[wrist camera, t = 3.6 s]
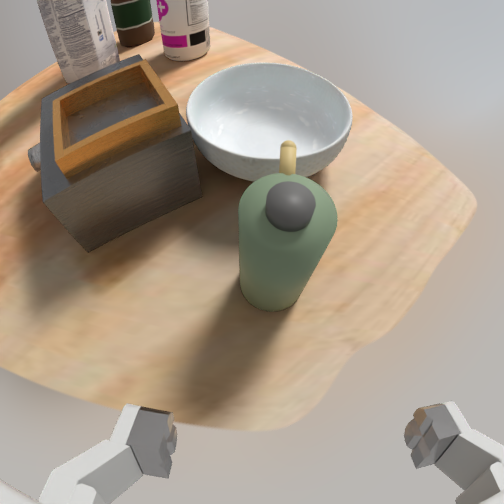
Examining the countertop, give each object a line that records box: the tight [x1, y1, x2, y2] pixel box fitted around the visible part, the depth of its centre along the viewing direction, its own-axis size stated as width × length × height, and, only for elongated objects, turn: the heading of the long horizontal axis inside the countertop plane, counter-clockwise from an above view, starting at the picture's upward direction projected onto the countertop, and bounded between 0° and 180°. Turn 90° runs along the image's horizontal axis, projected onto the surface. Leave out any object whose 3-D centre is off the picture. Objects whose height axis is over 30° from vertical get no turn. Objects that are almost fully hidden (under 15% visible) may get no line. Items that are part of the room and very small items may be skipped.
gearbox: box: [28, 54, 202, 252], centre depth 26 cm, size 16×18×11 cm
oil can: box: [238, 140, 337, 312], centre depth 21 cm, size 8×6×12 cm
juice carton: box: [37, 0, 120, 84], centre depth 30 cm, size 9×10×27 cm
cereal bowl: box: [186, 63, 352, 182], centre depth 30 cm, size 17×17×7 cm
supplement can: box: [157, 0, 210, 61], centre depth 37 cm, size 8×8×15 cm
